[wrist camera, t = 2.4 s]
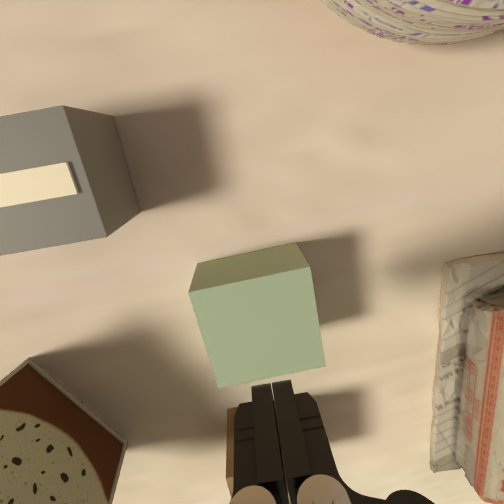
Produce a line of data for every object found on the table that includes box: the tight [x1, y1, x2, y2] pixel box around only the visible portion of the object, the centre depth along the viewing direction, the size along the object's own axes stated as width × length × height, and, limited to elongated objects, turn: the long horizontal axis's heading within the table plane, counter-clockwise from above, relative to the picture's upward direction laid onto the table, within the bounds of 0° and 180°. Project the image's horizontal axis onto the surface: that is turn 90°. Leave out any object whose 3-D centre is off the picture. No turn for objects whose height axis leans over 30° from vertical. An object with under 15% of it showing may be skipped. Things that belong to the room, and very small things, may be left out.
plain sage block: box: [189, 243, 326, 388], centre depth 18 cm, size 6×6×4 cm
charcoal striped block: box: [0, 105, 141, 256], centre depth 14 cm, size 5×5×5 cm
